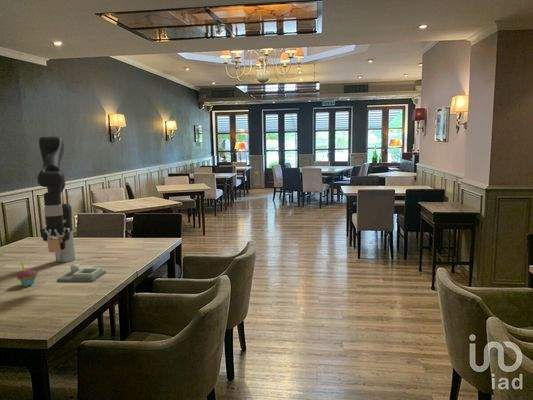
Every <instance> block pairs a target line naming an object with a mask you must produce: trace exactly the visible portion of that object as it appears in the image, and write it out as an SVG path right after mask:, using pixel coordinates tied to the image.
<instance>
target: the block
mask: <svg viewBox="0 0 533 400" xmlns="http://www.w3.org/2000/svg"><path fill="white" fill-rule="evenodd" d="M60 243H61V242H60V239H59V238H58V237H55V236H54V237H53V238H51V239H49V240H48V242H47V247H48V253H55V252H61V251H63V250H61V247H60ZM64 250H65V249H64Z"/></svg>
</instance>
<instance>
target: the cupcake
mask: <svg viewBox="0 0 533 400" xmlns="http://www.w3.org/2000/svg"><path fill="white" fill-rule="evenodd" d="M20 263H21V264H20V265H21V268H22V271H19V273H17V275H16V278H17V279H16V280H19V282H20V283H21V285H22V287H30V286H33V285H35V280H36V278H37V277H38V276H39V275H38V272H37V271H36V270H34V269H25V266H24V262H22V261H20ZM32 284H33V285H32ZM29 285H30V286H29Z"/></svg>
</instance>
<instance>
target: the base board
mask: <svg viewBox="0 0 533 400" xmlns="http://www.w3.org/2000/svg"><path fill="white" fill-rule="evenodd" d="M69 268H70V271H68V272H67V273H65V274H63V275H61V276H60V277H59V278H57V279H56V282H57V283H59V282H60V283H61V282H62V283H66V282H67V283H75V282H76V283H93V282H95V281H96V280H98V279H99V278H101V277H102V276H104V275H106V274H107V270H103V267H82V268H81V269H80V263H73V264H71V265H70V267H69Z"/></svg>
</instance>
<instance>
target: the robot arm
mask: <svg viewBox="0 0 533 400" xmlns="http://www.w3.org/2000/svg"><path fill="white" fill-rule="evenodd" d="M38 144H39V152H40V155H41V159H42V166H43V167H42V168H41V170H40V171H39V173H38V175H37V181H36V182H37V183H38V185H39V186H40V187H43V188H46V189H47V192H44V194H43V202H44V210H43V211H44V220H45V225H46V226H45V227H42V228H40V230H39V231H40V235H41V238H42V241H43V242H47V243H48V240H49V239H51V238H54V237H58V238H59V239H60V242H61V243H60V247H61V250H63V251H61V252H54V254H55V262H57V263H68V262H73V261H75V260H76V254H75V240H74V228H73V219H72V218H73V215H72V214H73V209H72V206H71V204H70V203H62V196H61V195H62V192H63V191H64V189H65V188H66V179H65V178H66V177H65V174H64V172H63V171H62V169H60V168H61V167H60V166H61V160H62V157H63V155H64V149H65V145H64V140H63V138H62V137H61V136H41V137H39V139H38ZM64 249H65V250H64Z"/></svg>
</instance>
